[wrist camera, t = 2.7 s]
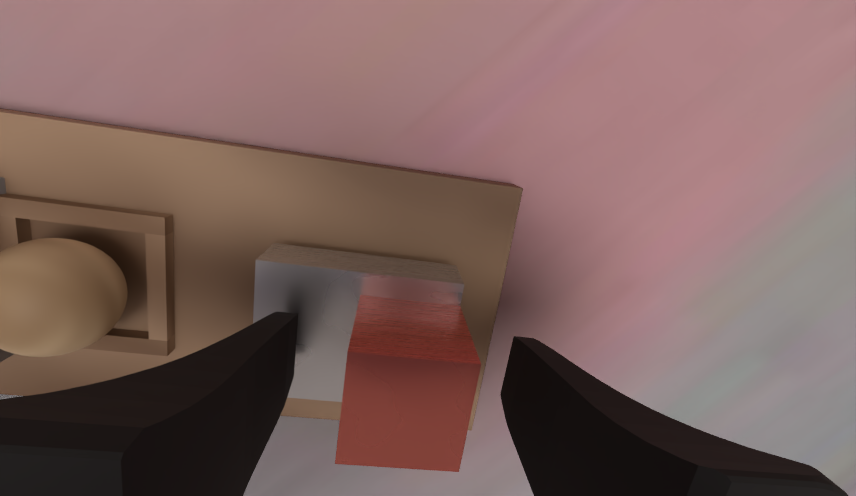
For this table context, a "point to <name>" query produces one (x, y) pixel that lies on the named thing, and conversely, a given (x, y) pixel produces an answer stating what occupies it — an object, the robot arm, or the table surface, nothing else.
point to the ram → (378, 350)
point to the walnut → (57, 296)
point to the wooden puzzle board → (226, 234)
